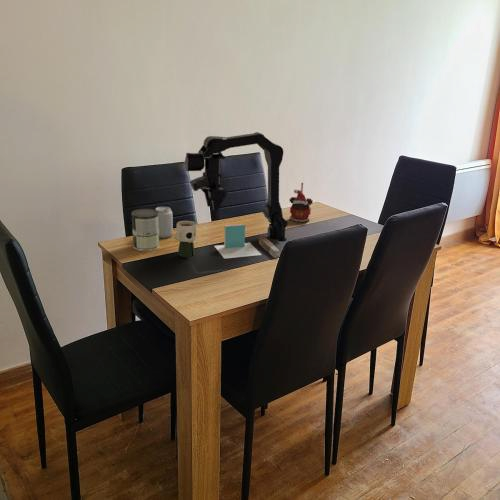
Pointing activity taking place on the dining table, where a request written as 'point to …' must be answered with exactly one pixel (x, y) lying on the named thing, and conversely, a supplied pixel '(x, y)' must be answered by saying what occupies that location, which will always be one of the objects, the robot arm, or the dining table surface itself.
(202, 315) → the dining table surface
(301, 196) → the red and brown figurine
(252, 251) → the mat
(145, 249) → the coffee can
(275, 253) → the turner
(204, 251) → the dining table surface
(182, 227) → the character mug
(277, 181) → the robot arm
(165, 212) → the can
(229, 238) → the tile
